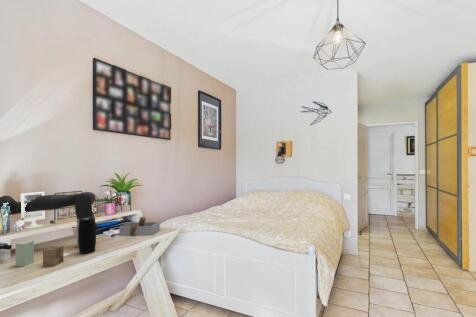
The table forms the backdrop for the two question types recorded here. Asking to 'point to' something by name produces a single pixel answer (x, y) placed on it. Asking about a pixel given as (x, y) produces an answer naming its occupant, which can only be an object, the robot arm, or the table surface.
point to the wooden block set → (141, 223)
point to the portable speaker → (87, 234)
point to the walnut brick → (53, 256)
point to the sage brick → (24, 253)
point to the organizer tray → (139, 228)
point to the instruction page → (64, 254)
